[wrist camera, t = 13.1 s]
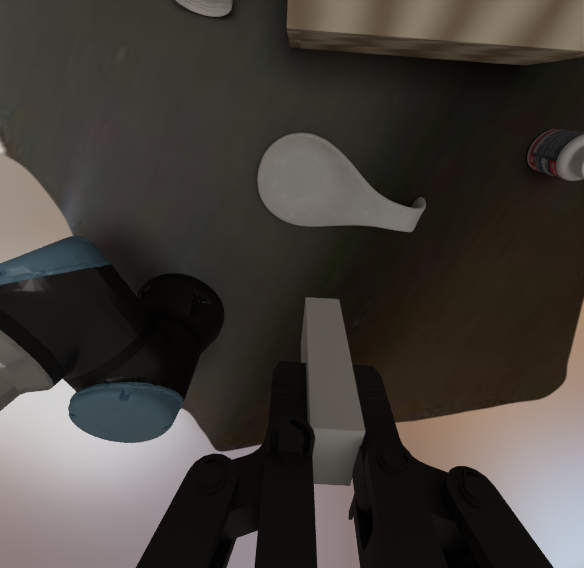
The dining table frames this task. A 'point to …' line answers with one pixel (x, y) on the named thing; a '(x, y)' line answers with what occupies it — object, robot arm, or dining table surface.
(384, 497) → the robot arm
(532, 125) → the dining table surface
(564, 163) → the pill bottle
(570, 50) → the stand
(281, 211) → the spoon rest
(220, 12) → the spread jar
